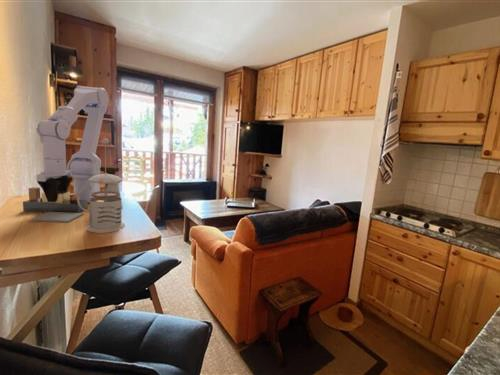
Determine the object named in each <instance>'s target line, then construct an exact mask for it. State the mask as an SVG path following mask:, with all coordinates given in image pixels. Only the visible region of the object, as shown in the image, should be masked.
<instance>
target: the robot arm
mask: <svg viewBox="0 0 500 375" xmlns="http://www.w3.org/2000/svg"><path fill="white" fill-rule="evenodd" d="M109 102H110V97H109V94H108V92H107V90H106V89H105V88H104V87H91V86H83V85H76V88H75V89H73V97H72V98H71V99H70V101H69V102H68V103H67V105H59V106H58V107H57V109H56V110H55V111H54V113H53V114H51V116H50V117H49V118H48V119H43V120H41V121H40V122H38V124H37V127H36V133H37V134H38V136H39V141H40V143H41V144H42V157H43V171H40V172H39V174H36V182H37V184H38V185H39V187H40V189H42V191H43V192H44V193H45V196H46V198H47V201H48V202H56V199H57V191H68V189H69V186H70V185H71V183H72V181H73V194H78V192H79V190H80V189H81V188H82V187H83V186H85V185H90V186H91V191H90V190H89V187H87V186H85V187H87V188H85V187H83V188H85V189H84V190H83V191H82V192H81V191H80V192H81V194H80V192H79V194H80V198H79V199H80V200H88V203H90V199H91V198H94V197H93V196H92V195H91V193H94V192H99V191H101V188H100V185H101V183H93V182H90V181H89V179H90V178H91V177H93V176H96V175H100V174H102V173H101V172H102V171H100V167H102V160H101V158H100V157H99V156H98V155H97V154H96V152H97V148H98V143H99V139H100V136H101V135H100V133H101V129H102V126H103V125H102V124H103V120H104V116H105V113H107V110H108V105H109ZM81 110H82V111H84V112H86V113H87V117H86V121H85V126H84V129H83V130H84V131H83V134H82V138H81V142H80V148H79V150H78V151H77V152H75V153H74V154H73V153H72V155H71V158H70V159H69V161H68V163H67V147H66V140H67V139H68V138H69V137H70V136H71V130H72V126H73V125H74V124H75V122H77V120H78V118H79V115H78V113H79V112H80V111H81ZM83 188H82V189H83ZM82 189H81V190H82Z"/></svg>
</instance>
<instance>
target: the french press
mask: <svg viewBox="0 0 500 375" xmlns="http://www.w3.org/2000/svg"><path fill="white" fill-rule="evenodd" d="M101 143H102V144H104V166H105V173H104V172H103V173H100V175H96V176H93V177H91V178H90V179H89V181H90V182H93V183H100V184H104V191H103V190H100V191H99V192H94V193H91V195H92V196H93V197H94V198H91V199H90V202H89V209H84V208H82V206H81V205H80V202H79V198H80V194H81V192H82V191H83V190H84V189H85V188H87V187H89V190H90V191H91V186H90V185H85V186H87V187H85V186H83V187H85V188H83V187H82V188H83V189H82V188H81V189H82V190H81V189H80V190H79V192H80V191H81V192H80V194H79V192H78V194H77V202H78V205H79V206H80V208H81V209H83V210H84V211H83V212H87V213H88V214H89V215H88V218H89V224H88V225H87V226H86V229H85V230H86V231H88V232H91V233H99V234H100V233H102V234H105V233H113V232H116V231H117V232H118V231H120V230H123V229H124V228H125V227H126V224H125V223H124V222H123V221H122V211H121V201H122V197H121V198H120V197H117V196H119V195H120V196H121V192H120V193H119V192H114V191H110V192H109V191H106V183H118V182H120V183H121V182H122V181H123V179H122V178H121V177H120V176H118V175H116V174H115V175H111V174H107V173H106V166H107V149H106V148H107V146H106V144H110V140H109V139H108V138H102V139H101ZM117 176H118V177H117ZM118 184H119V183H118ZM78 195H79V197H78ZM101 201H102V202H101ZM104 201H106V202H104ZM103 206H108V207H111V208H117V210H113V209H109V208H105V207H103ZM105 211H111V212H116V213H117V214H112V213H108V212H105ZM106 215H109V216H114V217H109V216H106Z"/></svg>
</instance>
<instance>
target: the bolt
mask: <svg viewBox="0 0 500 375" xmlns="http://www.w3.org/2000/svg"><path fill="white" fill-rule="evenodd" d="M100 171H101V172H103V174H104V173H105V165H103V166H102V165H101V167H100ZM117 172H120V167H118V166H116V165H115V166H114V165H113V166H111V165H106V173H107V174H111V175H115V176H116V173H117ZM107 185H108V184H107V183H106V189H107Z"/></svg>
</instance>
